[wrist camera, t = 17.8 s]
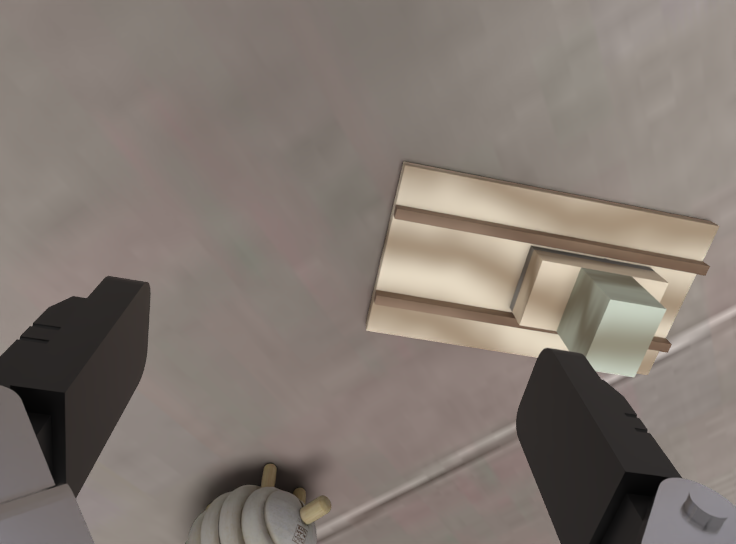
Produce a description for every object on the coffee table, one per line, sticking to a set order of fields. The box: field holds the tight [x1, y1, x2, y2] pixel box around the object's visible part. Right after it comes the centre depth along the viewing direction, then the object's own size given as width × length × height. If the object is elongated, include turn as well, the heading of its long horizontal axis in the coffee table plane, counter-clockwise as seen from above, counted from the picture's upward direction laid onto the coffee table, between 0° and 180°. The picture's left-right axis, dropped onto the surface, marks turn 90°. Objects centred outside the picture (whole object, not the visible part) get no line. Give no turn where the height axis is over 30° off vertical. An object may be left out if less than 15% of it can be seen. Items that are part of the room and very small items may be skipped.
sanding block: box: [510, 246, 669, 377], centre depth 43 cm, size 6×10×8 cm, turn 78°
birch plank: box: [366, 161, 719, 375], centre depth 46 cm, size 14×25×2 cm, turn 78°
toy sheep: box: [185, 464, 331, 544], centre depth 51 cm, size 11×17×11 cm, turn 133°
